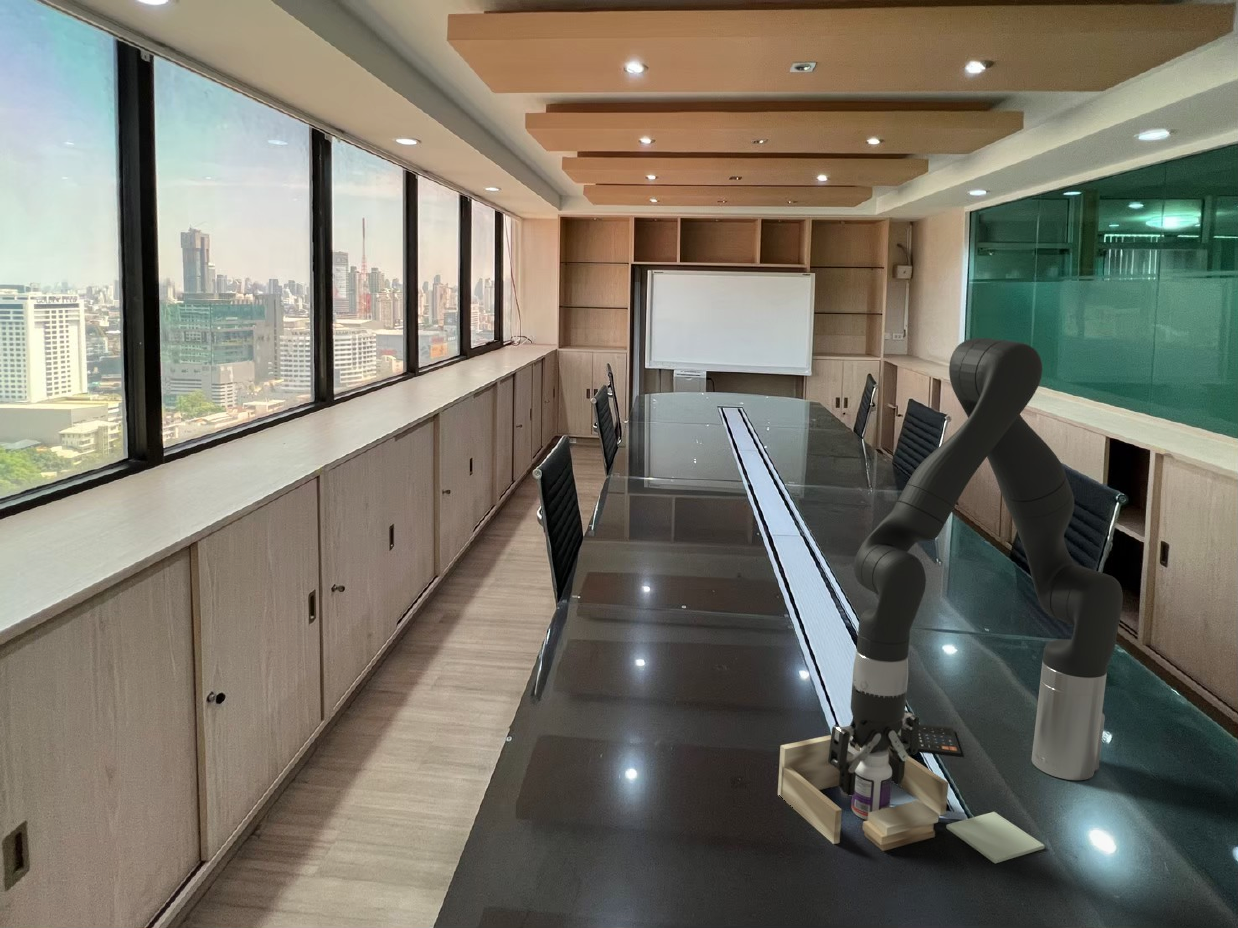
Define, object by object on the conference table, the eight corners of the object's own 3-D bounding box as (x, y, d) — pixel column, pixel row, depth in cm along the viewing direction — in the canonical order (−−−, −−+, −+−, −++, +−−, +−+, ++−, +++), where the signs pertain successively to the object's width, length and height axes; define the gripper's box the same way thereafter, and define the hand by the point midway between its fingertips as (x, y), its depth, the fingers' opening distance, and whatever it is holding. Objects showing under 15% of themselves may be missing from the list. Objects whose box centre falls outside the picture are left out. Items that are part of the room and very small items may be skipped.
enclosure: (883, 769, 147) (887, 723, 146) (945, 814, 135) (950, 763, 133) (777, 794, 139) (780, 745, 138) (833, 844, 127) (837, 790, 125)
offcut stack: (916, 822, 133) (919, 799, 132) (936, 837, 129) (938, 814, 129) (861, 837, 129) (863, 813, 128) (880, 853, 126) (882, 829, 125)
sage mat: (993, 814, 135) (994, 811, 135) (1044, 848, 127) (1044, 845, 127) (946, 827, 131) (946, 824, 131) (995, 863, 123) (995, 860, 123)
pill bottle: (882, 801, 138) (887, 741, 136) (894, 822, 133) (899, 759, 131) (846, 801, 138) (850, 741, 136) (856, 822, 132) (861, 759, 131)
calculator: (960, 758, 152) (962, 741, 152) (887, 750, 154) (889, 733, 154) (952, 732, 161) (953, 716, 161) (883, 724, 164) (884, 709, 163)
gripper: (901, 666, 138) (892, 766, 141) (822, 679, 132) (815, 784, 135) (937, 685, 131) (927, 790, 134) (855, 700, 125) (847, 810, 128)
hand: (871, 787), depth 134 cm, fingers open, 8 cm apart
